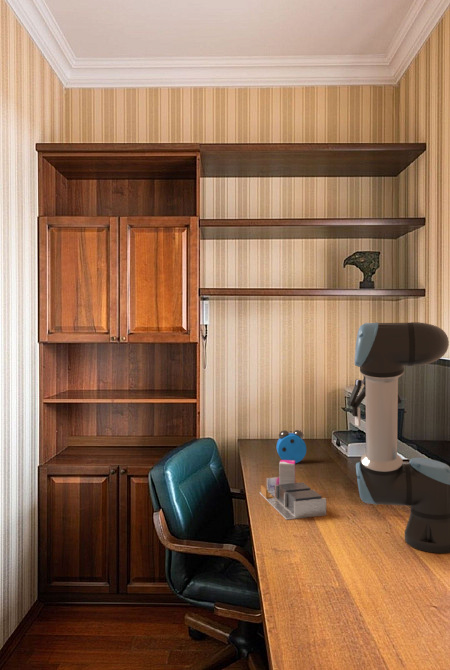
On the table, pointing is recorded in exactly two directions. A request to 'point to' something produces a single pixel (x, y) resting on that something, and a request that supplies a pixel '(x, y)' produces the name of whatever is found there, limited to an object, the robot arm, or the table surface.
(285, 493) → the rack
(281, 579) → the table surface
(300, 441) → the alarm clock
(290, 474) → the supplement box
